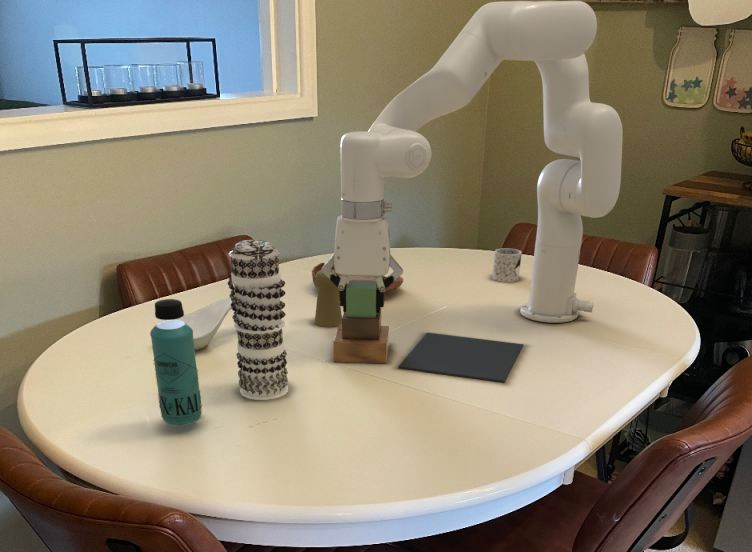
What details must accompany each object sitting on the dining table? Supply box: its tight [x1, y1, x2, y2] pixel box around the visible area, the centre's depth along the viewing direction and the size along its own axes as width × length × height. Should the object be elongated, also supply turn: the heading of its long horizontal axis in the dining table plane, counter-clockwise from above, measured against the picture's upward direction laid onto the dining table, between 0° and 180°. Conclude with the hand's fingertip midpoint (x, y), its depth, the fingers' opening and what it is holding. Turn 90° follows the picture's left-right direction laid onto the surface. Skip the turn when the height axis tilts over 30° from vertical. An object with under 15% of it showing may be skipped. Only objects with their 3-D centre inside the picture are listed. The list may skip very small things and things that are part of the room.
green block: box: [346, 280, 378, 318], centre depth 145 cm, size 6×6×6 cm
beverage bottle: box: [149, 298, 203, 426], centre depth 118 cm, size 6×7×20 cm
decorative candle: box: [227, 239, 289, 401], centre depth 128 cm, size 9×9×25 cm
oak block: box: [333, 324, 390, 364], centre depth 149 cm, size 10×10×4 cm
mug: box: [492, 247, 523, 283], centre depth 195 cm, size 10×7×7 cm
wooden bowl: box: [311, 262, 404, 298], centre depth 184 cm, size 22×20×5 cm
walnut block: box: [342, 307, 383, 340], centre depth 147 cm, size 7×7×4 cm
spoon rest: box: [174, 297, 236, 351], centre depth 155 cm, size 24×12×7 cm, turn 135°
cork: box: [314, 270, 343, 328], centre depth 163 cm, size 6×6×11 cm
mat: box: [397, 332, 524, 384], centre depth 149 cm, size 20×20×1 cm
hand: (362, 309), depth 146 cm, fingers closed on green block, 5 cm apart
